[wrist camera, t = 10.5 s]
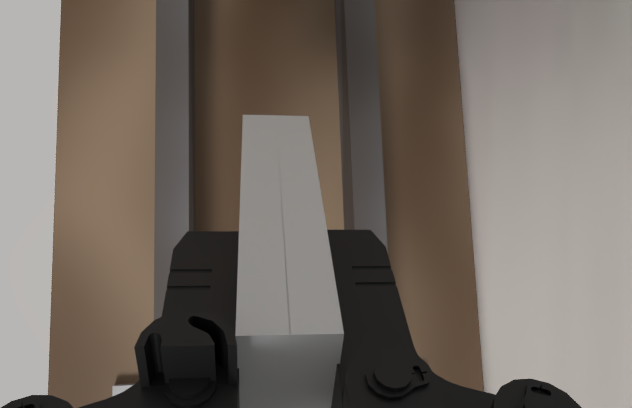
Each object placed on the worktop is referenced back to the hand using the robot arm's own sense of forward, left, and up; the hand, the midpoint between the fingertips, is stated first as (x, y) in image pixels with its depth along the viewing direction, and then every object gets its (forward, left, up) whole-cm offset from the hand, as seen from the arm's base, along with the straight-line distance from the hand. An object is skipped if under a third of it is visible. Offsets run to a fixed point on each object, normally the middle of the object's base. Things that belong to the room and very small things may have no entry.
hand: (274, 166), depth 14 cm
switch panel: (0, -4, -7) cm, 8 cm away
